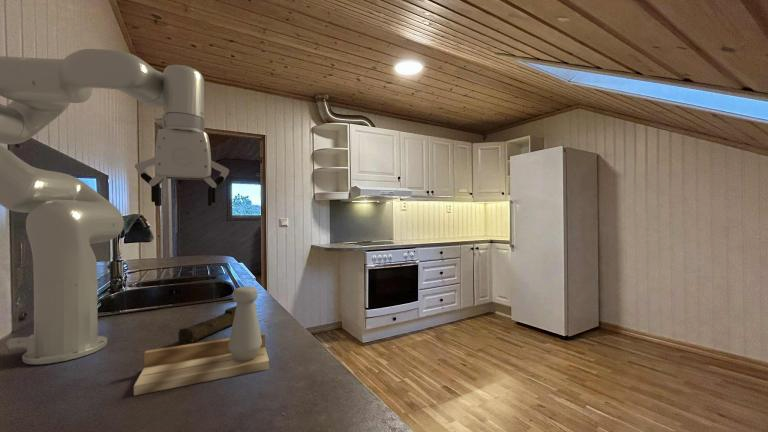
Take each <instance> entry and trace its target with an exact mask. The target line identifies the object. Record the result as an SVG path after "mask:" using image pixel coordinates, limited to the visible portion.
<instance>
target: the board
mask: <svg viewBox="0 0 768 432" xmlns="http://www.w3.org/2000/svg"><path fill="white" fill-rule="evenodd" d="M260 333H261V338H262V344H261V347H260V350H259V353H258V355H257V356H256V357H255V358H254V359H252V360H248V361H245V362H240V361H235V360H234V358H233V356H232V354H231V352H230V351H229V349H228V345H229V340H230V337H229V338H221V339H216V340H215V339H214V340H209V341H201V342H193V343H192V344H187V345H181V344H180V345H175V346H169V347H167V346H166V347H161V348H155V349H149V350H145V352H144V354H143V355H144V356H143V357H144V361H143V363H144V365H143V366H144V367H143V369H142V371H141V373H140V374H139V376H138V378H137V379H136V381H135V383H134V385H133V396H138V395H143V394H149V393H154V392H159V391H164V390H170V389H173V388H180V387H184V386H185V387H186V386H191V385H195V384H200V383H204V382H210V381H215V380H219V379H226V378H230V377H235V376H241V375H247V374H251V373H255V372H261V371H265V370H266V371H267V370H270V358H269V356H268V353H267V348H266V333H265V332H260Z"/></svg>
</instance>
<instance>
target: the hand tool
mask: <svg viewBox="0 0 768 432" xmlns="http://www.w3.org/2000/svg"><path fill="white" fill-rule="evenodd" d="M235 310H236V305H235V306H233V307H229V308H227V309H225V311H224V313H223V314H220V315H218V316H215V317H212V318H210V319H207V320H205V321H202V322H198V323H197V324H193V325H192V326H189V327H185V328H180V329H179V331H178V342H179V343H180V346H181V345H187V344H194V343H198V341H199V340H201V339H203V338H205V337H207V336H209V335H212V334H215V333H217V332H218V331H221V330H223V329H225V328H227V327H230V328H232V325H233V320H234V315H235Z"/></svg>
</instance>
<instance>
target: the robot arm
mask: <svg viewBox="0 0 768 432" xmlns="http://www.w3.org/2000/svg"><path fill="white" fill-rule="evenodd" d="M93 89H109V90H116V91H120V92H122V93H124V94H126V95H128V96H129V97H132V98H133V99H135V100H136V101H138V102H141V104H144V105H147V106H148V107H151V108H159V109H160V108H163V111H162V113H163V114H162V116H161V118H157V117H156V118H155V119H154V123H155V125H156V126H160V127H162V128H159V129H158V132H157V136H156V144H155V152H154V157H151V158H149V159H145V160H143V161H141V162H139V163H138V162H137V163H135V165H134V168H135V169H136V171H137V173H138V174H139V176H140V178H141V179H142V180H143V181H145V182H146V183H147V184H149V186H151V187H150V189H151V190H150V191H151V193H150V195H151V197H150V198H151V199H150V200H151V203H154V206H155V207H161V206H162V198H163V197H162V194H163V193H162V187H160V186H161V184H162V182H164V181H166V179H169V180H187V181H189V180H193V181H194V180H195V181H205V182H206V183H207V185H208V188H207V206H208V207H213V204H214V203H215V204H216V201H217V199H216V198H217V196H216V195H217V194H216V192H217V191H216V189H217V188H218V187H219V186H220V185H221V184H222V183H224V182H225V179H226V178H227V176H228V175H229V172H230V169H229V168H227V167H226V166H224V165H222V164H219V163H218V162H216V161H214V160H212V154H211V144H210V139H209V138H210V137H209V135H208V133H206V132H205V79H204V77H203V75H202V73H201V72H200V71H199V70H197V69H195V68H193V67H191V66H187V65H183V64H170V65H168V66H166V67H165V68H164V70H163V72H161V71H159V70H157V69H155V68H154V67H152V65H150V64H149V63H147V61H144V60H143V59H141V58H140V57H138V55H135V54H133V53H131V52H130V53H129V52H127V51H121V50H117V49H102V48H83V49H79V50H76V51H74V52H72V53H69V54H68V55H67V56H66V57H64V59H63V58H47V57H46V58H42V57H28V56H27V57H25V56H24V57H23V56H8V55H7V56H3V55H2V56H0V97H2V98H5V99H7V100H10V101H11V102H10V103H8V104H7V105H5V104H2V103H0V205H1V206H2V207H4V208H5V209H7V210H9V211H12V212H16V213H23V214H24V213H25V214H26V213H28V214H27V216H26V220H25V229H26V234H27V238H28V241H29V245H30V248H31V255H32V265H33V266H32V267H33V334H31V335H29V336H26V337H15V338H14V337H13V338H9V339H8V340H7V341H6V344H5V345H6V346H5V347H6V349H7V351H8V352H11V351H17V350H18V351H19V350H22V349H24V350H25V351H26V352H25V353H24V354H23V355H22V357H21V359H22V363H24V364H26V365H32V366H33V365H34V366H35V365H36V366H37V365H49V364H55V363H60V362H65V361H70V360H74V359H78V358H82V357H85V356H87V355H90V354H93V353H96V352H98V351H100V350H101V349H103V348H105V347H106V346H107V344H108V338H107V337H106V336H103V335H99V328H98V327H99V326H98V324H99V321H98V320H99V319H98V316H99V314H98V313H99V312H98V311H99V310H98V309H99V307H98V305H99V304H98V303H99V301H98V300H99V299H98V293H99V292H98V263H97V257H96V255H95V253H94V250H93V248H92V247H91V244H99V243H105V242H108V241H112V240H114V239H115V238H117V237H118V236H119V235H120V234H121V233H122V232H123V230H124V226H125V225H124V224H125V220H124V217H123V214H122V212H121V211H120V210H119V208H117V206H115V205H114V204H113V203H112V202H111V201H109V200H108V199H106V198H105V197H104V196H102V195H101V194H100V193H98V192H97V191H96V190H94V189H93V188H92V187H91V186H89V185H88V184H87V183H85V182H84V181H82V180H81V179H79V178H77V177H75V176H73V175H71V174H67V173H65V172H64V173H63V172H59V171H53V170H47V169H41V168H38V167H34V166H32V165H30V164H28V163H27V162H26V161H24V160H23V159H21V158H19V157H18V156H16V155H15V153H14V152H12V151H10V150H9V149H8V148H7V147H5V146H3V145H1V144H4V145H18V144H21V143H24V142H26V141H29V140H30V139H31V138H33V137H34V136H35V135H37V134H38V133H39V132H40V131H41V130H43V129H44V128H45V127H47V126H48V125H49V124H50V123H52V122H53V121H55V120H56V119H57V118H59V117H60V116H61V115H62V114H63V113H64V111H66V110H67V109H68V107H69V106H70V105H71V104H82V103H85V102H87V101H88V100H89V99H90V98H91V96H92V93H93ZM153 166H154V172H155V174H156V175H154V176H153V177H152V176H151V175H149V174H148V172H147V169H148V168H152V167H153ZM212 169H214V170H216V171H219V172H220V174H219V176H218V177H217V178H216V179H212V177H211V176H212Z"/></svg>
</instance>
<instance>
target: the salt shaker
mask: <svg viewBox="0 0 768 432" xmlns="http://www.w3.org/2000/svg"><path fill="white" fill-rule="evenodd" d="M258 297H259V296H258V289H257V288H256V287H254V286H250V285H249V286H240V287H238V288H235V289H234V290H233V291H232V300H233V302H236V305H235V306H236V310H235V315H234V320H233V325H232V327H231V331H230V336H229V338H230V340H229V345H228V349H229V351H230V352H231V354H232V356H233V358H234V360H235V361H240V362H245V361H248V360H252V359H254V358H255V357H256V356H257V355H258V353H259V350H260V347H261V344H262V338H261V333H262V332H261V328H260V323H259V318H258V313H257V307H256V302H255V300H257V299H258Z"/></svg>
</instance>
